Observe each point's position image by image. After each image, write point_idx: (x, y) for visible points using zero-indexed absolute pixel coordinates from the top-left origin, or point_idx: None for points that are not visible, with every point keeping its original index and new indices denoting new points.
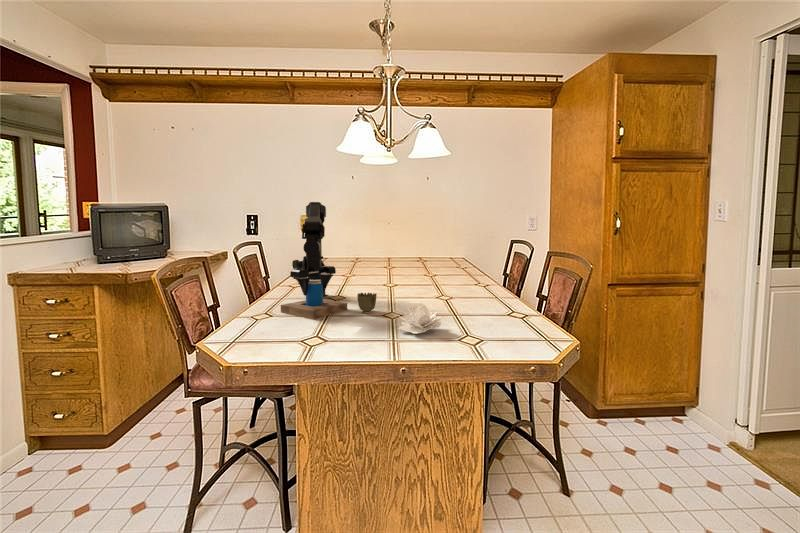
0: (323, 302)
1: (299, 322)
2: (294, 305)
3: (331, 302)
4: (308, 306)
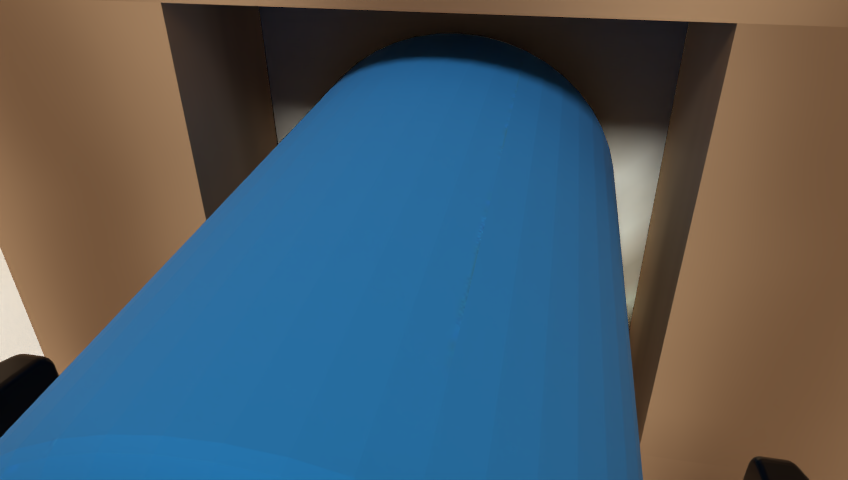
0: (686, 304)
1: (8, 355)
2: (32, 16)
3: (765, 427)
4: None
